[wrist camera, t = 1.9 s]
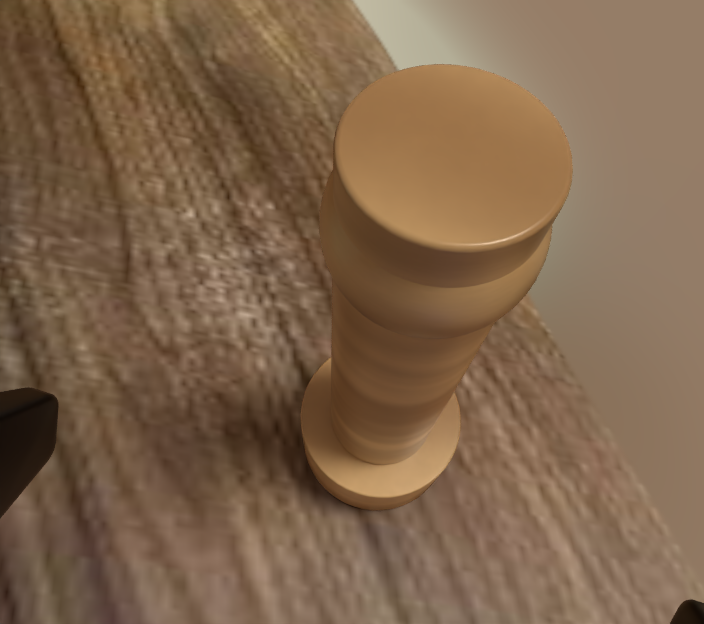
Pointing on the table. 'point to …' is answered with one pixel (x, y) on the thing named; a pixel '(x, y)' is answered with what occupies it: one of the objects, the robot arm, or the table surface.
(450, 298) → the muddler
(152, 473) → the table surface
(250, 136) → the table surface
